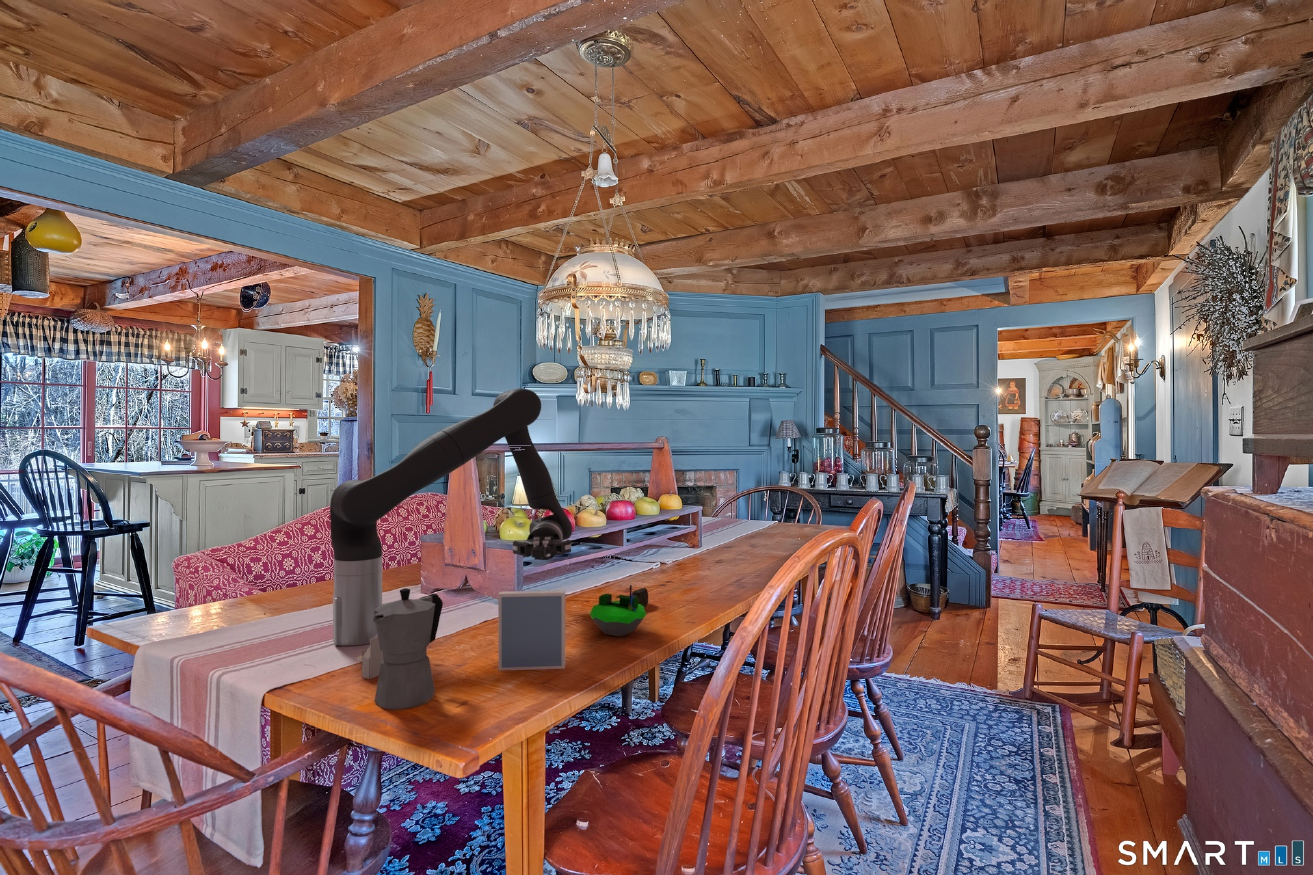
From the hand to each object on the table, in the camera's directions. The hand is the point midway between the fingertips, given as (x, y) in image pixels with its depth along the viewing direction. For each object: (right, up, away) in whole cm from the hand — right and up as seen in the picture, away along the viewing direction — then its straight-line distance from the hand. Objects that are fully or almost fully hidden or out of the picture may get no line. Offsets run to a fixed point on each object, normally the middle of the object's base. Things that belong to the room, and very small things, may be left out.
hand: (538, 554), depth 135 cm
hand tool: (+16, -19, +28) cm, 37 cm away
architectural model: (-26, -20, -14) cm, 36 cm away
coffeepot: (-17, -19, -24) cm, 35 cm away
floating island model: (+15, -19, +10) cm, 26 cm away
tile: (+1, -19, -11) cm, 22 cm away
